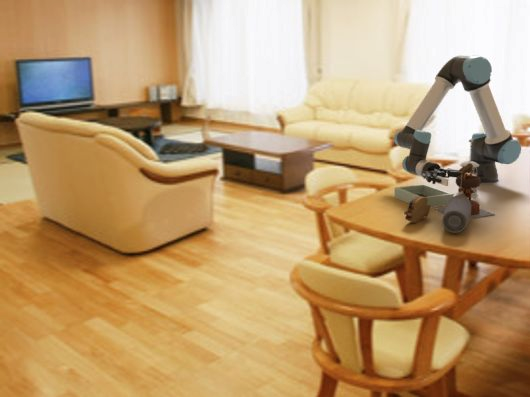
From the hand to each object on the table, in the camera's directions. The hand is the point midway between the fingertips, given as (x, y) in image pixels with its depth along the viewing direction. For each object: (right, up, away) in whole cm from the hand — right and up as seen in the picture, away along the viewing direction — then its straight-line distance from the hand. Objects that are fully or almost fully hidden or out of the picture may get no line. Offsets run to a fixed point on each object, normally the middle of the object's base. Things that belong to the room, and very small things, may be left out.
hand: (461, 180), depth 231 cm
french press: (+12, -5, +27) cm, 30 cm away
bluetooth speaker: (-8, -18, -17) cm, 26 cm away
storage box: (-10, -8, +19) cm, 23 cm away
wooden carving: (-20, -16, -9) cm, 28 cm away
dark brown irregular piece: (+2, -12, +1) cm, 12 cm away
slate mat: (+1, -13, +1) cm, 13 cm away
